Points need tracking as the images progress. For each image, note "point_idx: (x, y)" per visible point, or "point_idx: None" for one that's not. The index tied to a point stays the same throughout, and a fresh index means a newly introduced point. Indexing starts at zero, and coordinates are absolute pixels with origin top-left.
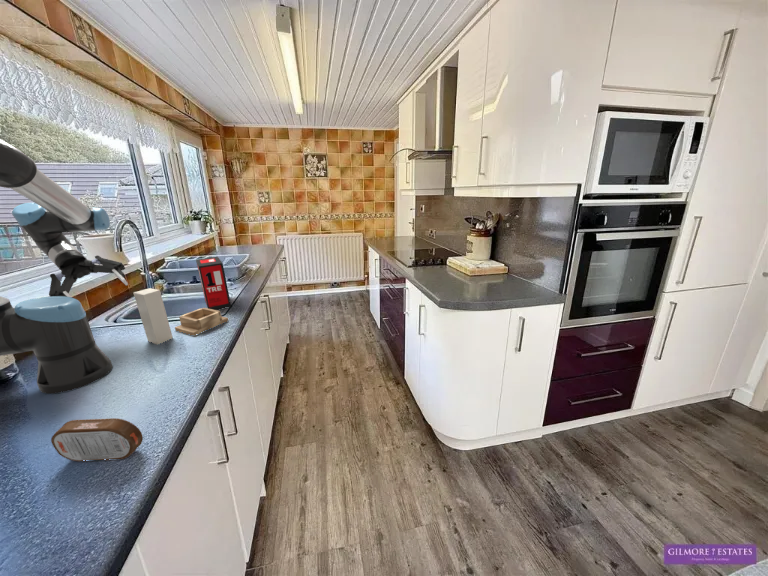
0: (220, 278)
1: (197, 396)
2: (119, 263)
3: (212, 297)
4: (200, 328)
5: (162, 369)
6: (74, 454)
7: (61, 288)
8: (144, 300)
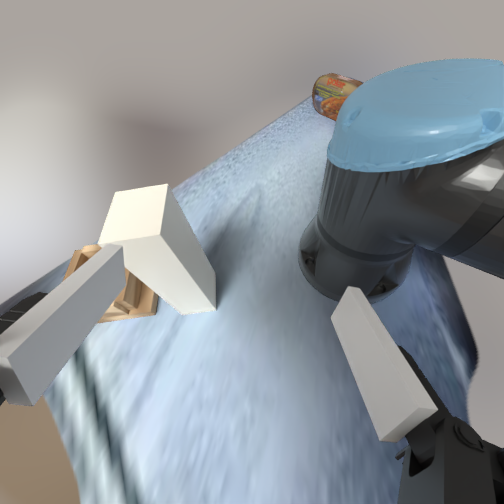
0: None
1: (258, 131)
2: None
3: None
4: None
5: (254, 190)
6: None
7: (471, 487)
8: (175, 201)
